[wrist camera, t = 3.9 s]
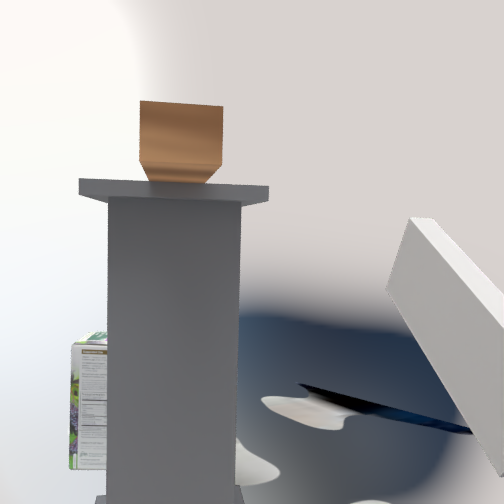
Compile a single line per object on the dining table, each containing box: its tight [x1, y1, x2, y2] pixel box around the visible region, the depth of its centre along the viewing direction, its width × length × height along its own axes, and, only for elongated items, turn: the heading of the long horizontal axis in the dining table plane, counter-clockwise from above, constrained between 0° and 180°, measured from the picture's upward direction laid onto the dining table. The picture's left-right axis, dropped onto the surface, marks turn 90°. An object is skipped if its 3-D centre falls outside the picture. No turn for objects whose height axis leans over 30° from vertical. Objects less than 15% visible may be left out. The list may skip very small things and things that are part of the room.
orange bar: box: [139, 101, 223, 183], centre depth 32 cm, size 26×4×2 cm, turn 10°
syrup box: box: [69, 331, 107, 470], centre depth 54 cm, size 6×6×14 cm
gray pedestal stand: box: [79, 178, 269, 504], centre depth 37 cm, size 16×14×30 cm
